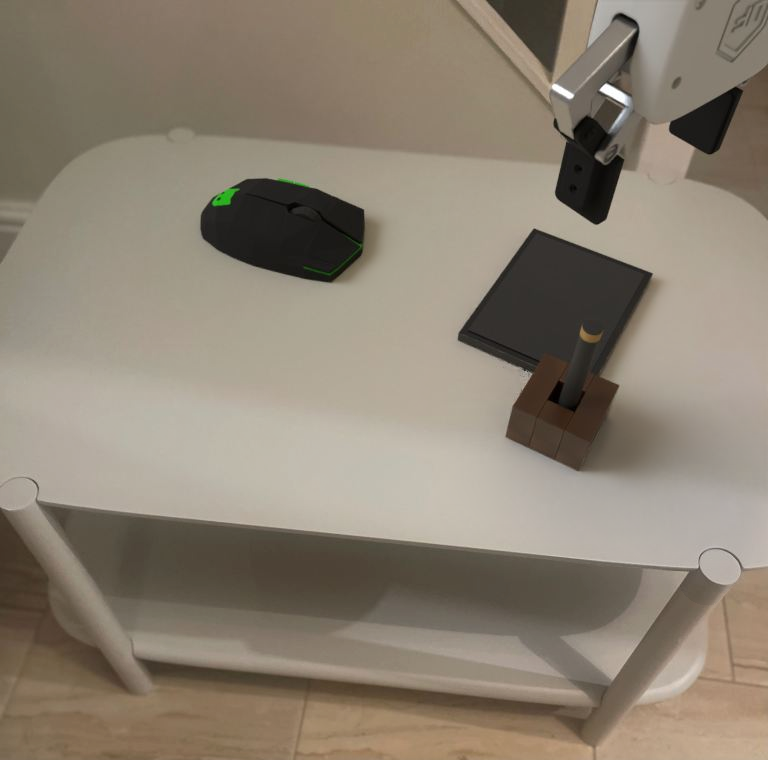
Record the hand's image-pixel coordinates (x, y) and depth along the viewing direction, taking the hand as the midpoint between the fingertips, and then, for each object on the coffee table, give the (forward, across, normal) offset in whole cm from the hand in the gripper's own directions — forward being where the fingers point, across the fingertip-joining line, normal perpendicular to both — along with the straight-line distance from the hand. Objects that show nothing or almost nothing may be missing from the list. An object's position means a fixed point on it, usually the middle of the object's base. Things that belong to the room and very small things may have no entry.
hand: (638, 174), depth 44 cm
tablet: (+24, +10, +9) cm, 28 cm away
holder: (+24, 0, 0) cm, 24 cm away
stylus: (+24, 0, 0) cm, 24 cm away
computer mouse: (+24, -3, +33) cm, 41 cm away
